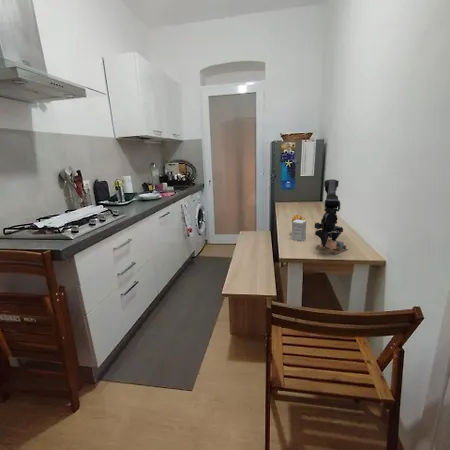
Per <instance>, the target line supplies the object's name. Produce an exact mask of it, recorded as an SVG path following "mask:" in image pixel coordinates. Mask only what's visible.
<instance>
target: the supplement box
mask: <svg viewBox="0 0 450 450" xmlns="http://www.w3.org/2000/svg"><path fill="white" fill-rule="evenodd" d="M306 234H307V220H306V219H305V220H303V219H302V220H297V219H296V220H294V221H293V222H292V221H291V240H293V241H299V242H302V241H304V240H305V239H306Z"/></svg>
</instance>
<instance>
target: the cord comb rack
mask: <svg viewBox="0 0 450 450" xmlns="http://www.w3.org/2000/svg"><path fill="white" fill-rule="evenodd" d="M315 250H319V251H321V252H324V253H328V254H329V255H333V256H336V255H338V254H341V253H344V252H346V251H348V250H349V249H347V245H345V244H344V245H343V249H341V250H340V248H339V247H336V249H329V248H327V247H323V245H319V244H317V245H316V247H315Z"/></svg>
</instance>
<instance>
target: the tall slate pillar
mask: <svg viewBox="0 0 450 450" xmlns="http://www.w3.org/2000/svg"><path fill="white" fill-rule="evenodd" d="M335 242H337V246H336V247H339V248H340V250H341V249H343V245H345V244H344V243H345V242H343V241H339V240H336V241H335Z"/></svg>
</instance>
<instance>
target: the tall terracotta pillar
mask: <svg viewBox="0 0 450 450" xmlns="http://www.w3.org/2000/svg"><path fill="white" fill-rule="evenodd" d="M320 244H321V245H320V246H323V245H322V242H320ZM336 246H337V242H335V241H333V240H331V238H328V240H327V242H326V245H325V247H327V248H329V249H336Z"/></svg>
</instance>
